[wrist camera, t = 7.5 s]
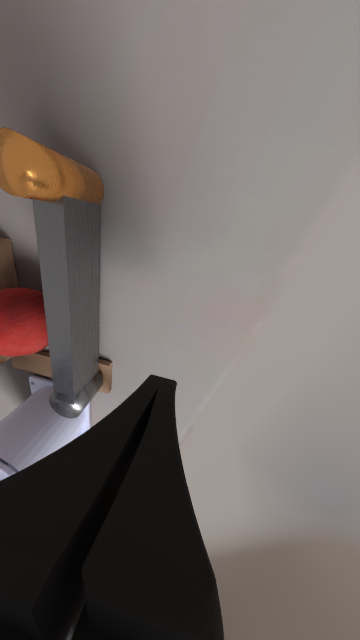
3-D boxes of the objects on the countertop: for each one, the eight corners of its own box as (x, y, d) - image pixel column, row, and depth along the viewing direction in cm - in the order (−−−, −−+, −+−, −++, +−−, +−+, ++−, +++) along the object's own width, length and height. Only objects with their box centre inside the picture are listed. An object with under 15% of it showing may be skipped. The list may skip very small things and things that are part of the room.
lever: (103, 392, 23) (65, 443, 17) (77, 385, 23) (32, 432, 18) (109, 171, 14) (38, 133, 9) (67, 164, 15) (-27, 122, 9)
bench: (111, 389, 24) (79, 434, 19) (11, 361, 25) (-46, 396, 20) (115, 261, 18) (69, 273, 12) (-18, 233, 19) (-112, 233, 14)
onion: (22, 311, 22) (-76, 349, 15) (36, 267, 20) (-72, 287, 12) (68, 342, 22) (-4, 393, 15) (87, 303, 20) (12, 342, 13)
